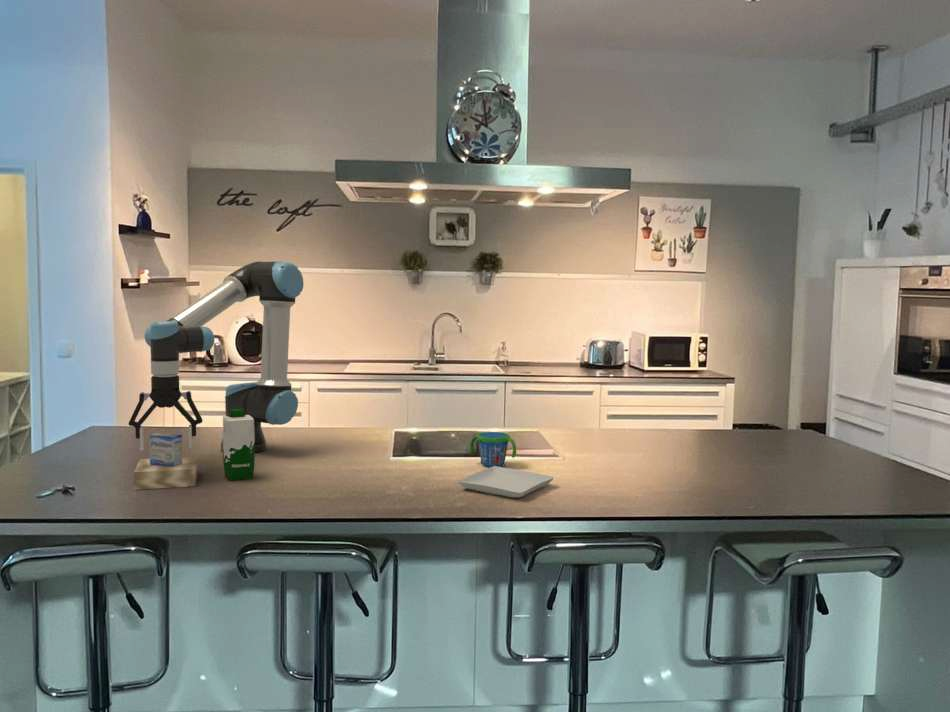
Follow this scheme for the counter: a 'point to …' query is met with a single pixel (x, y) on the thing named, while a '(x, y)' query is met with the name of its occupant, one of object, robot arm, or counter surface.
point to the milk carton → (238, 445)
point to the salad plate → (505, 481)
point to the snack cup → (493, 448)
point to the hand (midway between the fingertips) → (166, 448)
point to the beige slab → (165, 474)
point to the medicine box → (165, 449)
